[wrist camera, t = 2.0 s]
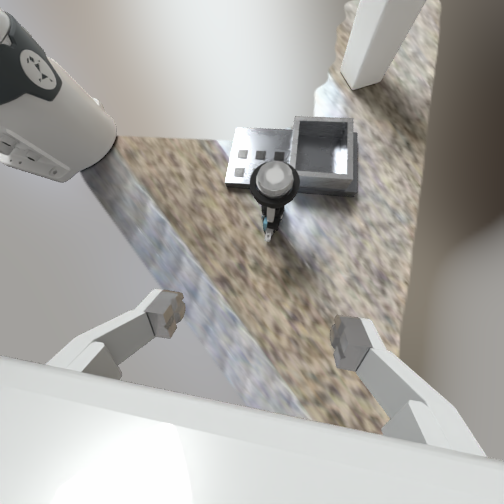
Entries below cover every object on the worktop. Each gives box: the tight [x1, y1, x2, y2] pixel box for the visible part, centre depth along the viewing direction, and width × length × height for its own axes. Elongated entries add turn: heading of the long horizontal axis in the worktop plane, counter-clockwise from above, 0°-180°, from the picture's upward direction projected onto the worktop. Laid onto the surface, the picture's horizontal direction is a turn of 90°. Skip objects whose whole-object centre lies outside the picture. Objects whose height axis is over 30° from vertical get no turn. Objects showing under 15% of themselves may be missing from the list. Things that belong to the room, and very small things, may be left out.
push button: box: [250, 161, 300, 242], centre depth 23 cm, size 7×5×10 cm
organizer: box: [225, 116, 357, 197], centre depth 29 cm, size 20×11×4 cm, turn 82°
